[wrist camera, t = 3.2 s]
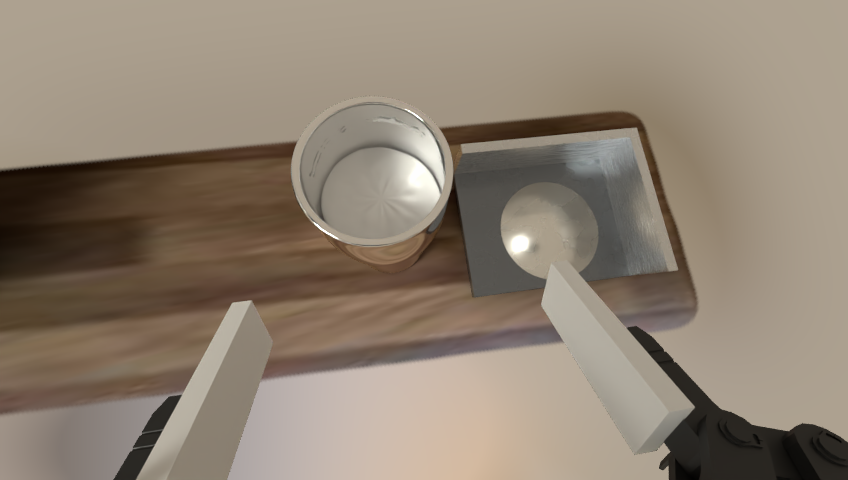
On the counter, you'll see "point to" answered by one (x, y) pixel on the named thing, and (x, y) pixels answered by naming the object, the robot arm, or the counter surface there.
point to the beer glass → (374, 180)
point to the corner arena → (558, 210)
